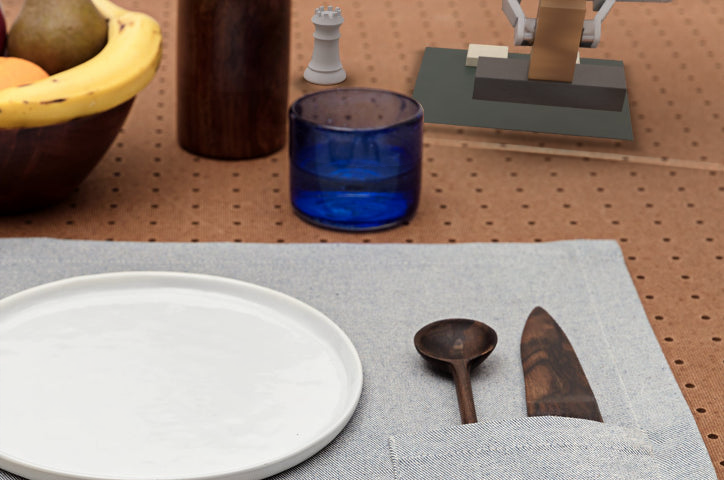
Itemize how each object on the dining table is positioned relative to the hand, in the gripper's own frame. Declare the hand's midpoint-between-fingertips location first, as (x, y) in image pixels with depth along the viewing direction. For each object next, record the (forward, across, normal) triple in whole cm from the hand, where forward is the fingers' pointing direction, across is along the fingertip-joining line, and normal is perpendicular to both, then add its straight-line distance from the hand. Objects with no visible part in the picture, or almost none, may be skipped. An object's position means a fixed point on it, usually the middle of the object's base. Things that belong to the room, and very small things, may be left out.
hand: (556, 44), depth 88 cm
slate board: (-2, 0, +17) cm, 17 cm away
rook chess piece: (-3, -19, +18) cm, 27 cm away
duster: (+3, 0, +4) cm, 5 cm away
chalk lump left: (-8, -3, +22) cm, 23 cm away
